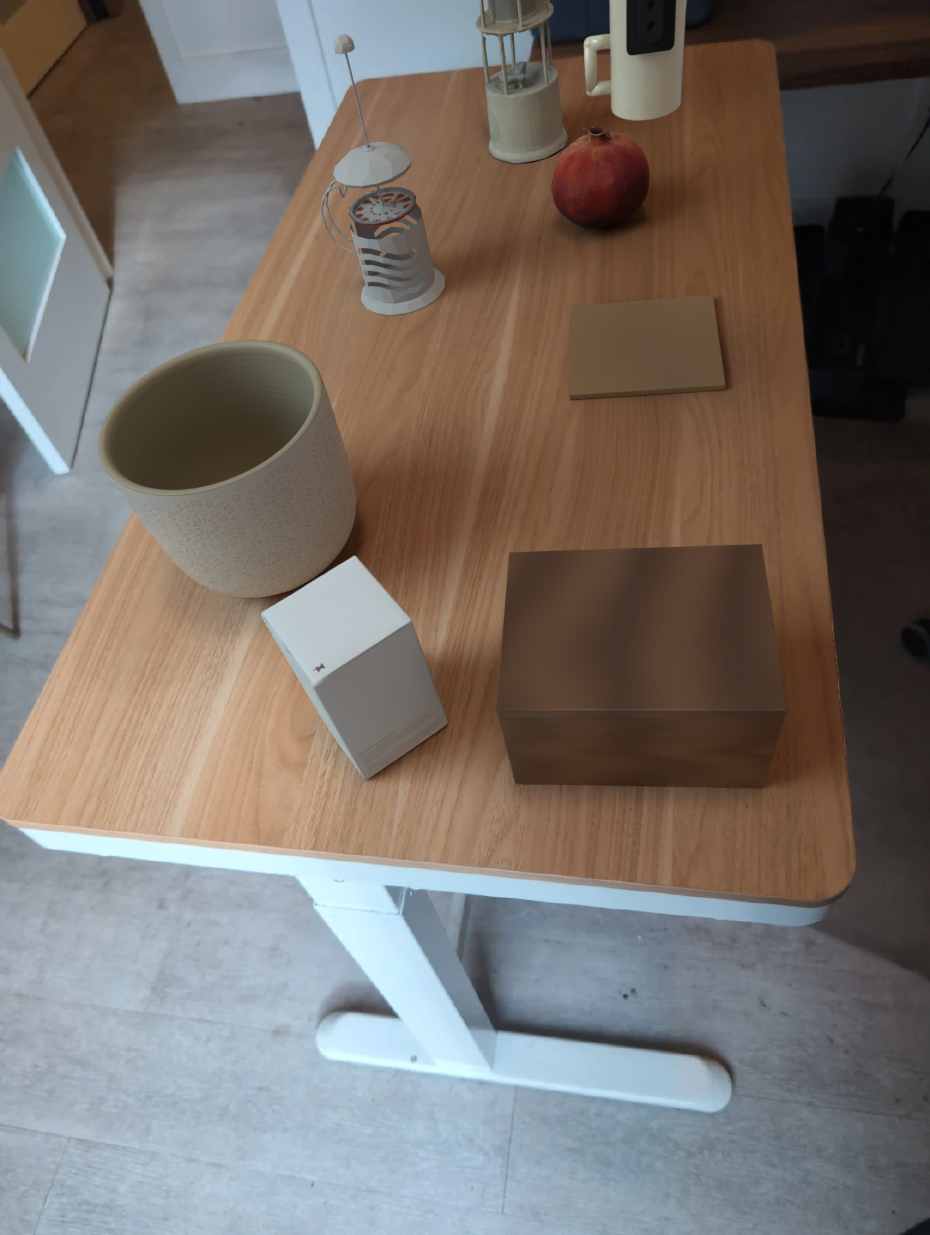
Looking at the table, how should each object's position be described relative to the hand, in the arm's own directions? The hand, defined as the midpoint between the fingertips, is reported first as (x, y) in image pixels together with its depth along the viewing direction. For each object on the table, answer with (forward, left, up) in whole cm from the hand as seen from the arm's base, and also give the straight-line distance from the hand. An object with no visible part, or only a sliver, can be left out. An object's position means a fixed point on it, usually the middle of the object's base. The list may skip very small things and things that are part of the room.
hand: (648, 30), depth 59 cm
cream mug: (0, 0, -5) cm, 5 cm away
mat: (0, -1, -27) cm, 27 cm away
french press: (+27, -15, -27) cm, 41 cm away
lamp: (+13, -47, -27) cm, 56 cm away
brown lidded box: (+2, +39, -27) cm, 48 cm away
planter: (+32, +23, -27) cm, 48 cm away
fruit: (+4, -25, -28) cm, 37 cm away
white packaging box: (+20, +40, -27) cm, 52 cm away
